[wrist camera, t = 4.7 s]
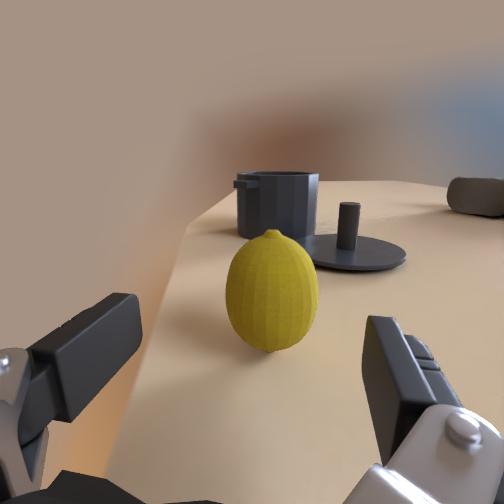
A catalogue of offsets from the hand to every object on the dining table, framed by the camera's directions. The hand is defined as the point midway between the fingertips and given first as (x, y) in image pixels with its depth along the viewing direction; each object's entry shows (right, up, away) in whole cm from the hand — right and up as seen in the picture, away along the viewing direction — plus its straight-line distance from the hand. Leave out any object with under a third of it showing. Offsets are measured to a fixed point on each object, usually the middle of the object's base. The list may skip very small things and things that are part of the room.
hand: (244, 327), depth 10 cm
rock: (+53, +11, +57) cm, 78 cm away
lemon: (+1, -4, +9) cm, 10 cm away
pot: (+4, +6, +40) cm, 41 cm away
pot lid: (+12, +3, +28) cm, 30 cm away
